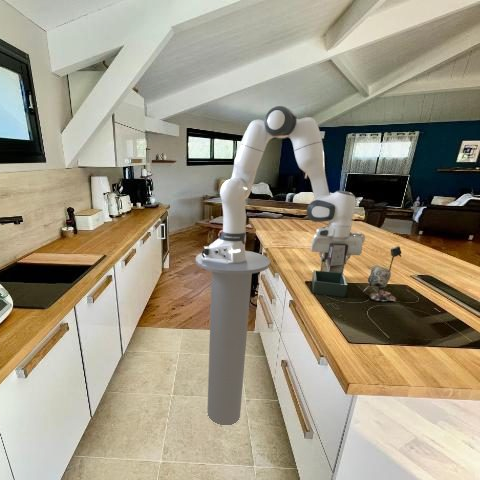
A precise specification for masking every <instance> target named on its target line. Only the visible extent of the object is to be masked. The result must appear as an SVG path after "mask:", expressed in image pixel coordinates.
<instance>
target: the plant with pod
mask: <svg viewBox="0 0 480 480" xmlns="http://www.w3.org/2000/svg"><path fill="white" fill-rule="evenodd" d="M390 255H391V261H390V264H389V268H387V267H382V266H379V265H375V266H373V267H372V268H371V271H370V274H369V276H368V278H367V282H368V283H369V284H368V285H367V286H366V287H365V289H363V291H362V292H363V293H364V292H367V290H368V289H369V288H370V287H371V286H374V287H377V288H378V292H375V293H374V292H373V293H369V298H370V299H371V300H373V301H378V302H387V301H393V302H397V297H395V296H394V295H392V294H391V292H388V291H387V290H386V289H387V286H388V283H389V281H390V278H391V276H392V275H391V274H392V272H391V269H392V264H393V262H394V259H395V258H396V257H398V256H399V257H400V258H402V250H401V247H400V246H399V245H397V246H395V247H392V248H390ZM383 289H384V291H383Z"/></svg>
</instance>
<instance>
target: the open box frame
mask: <svg viewBox="0 0 480 480" xmlns="http://www.w3.org/2000/svg"><path fill="white" fill-rule="evenodd" d="M311 285H312V294H314V295H315V294H316V295H323V296H332V297H341V298H345V297H346V293H347V289H348V283H347V280H346V277H345V275H344V272H343V273H337V272H327V271H320V270H317V269H316V270H315V269H313V272H312V279H311Z"/></svg>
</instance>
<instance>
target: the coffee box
mask: <svg viewBox="0 0 480 480" xmlns="http://www.w3.org/2000/svg"><path fill="white" fill-rule="evenodd" d="M348 246H349V245H347V244H334V243H330V246H329V252H328V253H324V252H323V255H322V257H323V258H325V260H324V262H321V265H320V270H319V271H327V272H337V273H343V274H344V269H345V265H346V264H345V260H346V257H347V256H346V255H347V250H348Z"/></svg>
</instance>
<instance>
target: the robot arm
mask: <svg viewBox="0 0 480 480" xmlns="http://www.w3.org/2000/svg"><path fill="white" fill-rule="evenodd" d="M288 138H289V139H290V141H291V144H292V147H293V152H294V157H295V161H296V163H297V166H298V168H299V169H300V170H301V171H302V172H304V173H305V175H307V177H308V178H309V180H310V185H311V190H312V193H313V200H312V201H311V202H309V204H308V205H307V207H306V216H307V218H308V219H309V220H310V221H312V222H314V223H323V222H328V225H325V226H322V227H317V228H316V230H315V234H314V235H313V236H312V239H311V243H310V248H309V249H310V251H311V252H313V253H318V255H319V257H320V260H319V261H320V263H322V262H324V260H325V258H323V252H324V253H328V252H329V246H330V243H334V244H347V245H349V246H348V250H347V255H346V260H345V265H347V262H348V260H349V259H351V257H352V256H360V255H361V254H362V253H363V244H364V243H365V240H366V235H365V234H363V233H362V232H354V231H353V232H352V231H351V230H352V225H353V223H352V222H353V221H352V220H353V217H354V216H355V215H354V214H355V212H356V211H355V210H356V200H357V199H356V196H355V194H353V193H352V192H349V191H345V190H336V191H335V192H334V193H330V190H329V189H330V188H329V185H328V179H327V176H326V170H325V169H326V168H325V152H324V144H323V138H322V135H321V131H320V128H319V125H318V123H317V121H316V119H315V118H313V117H309V116H307V117H302V118H297V115H296V114H295V113H294V111H292V110H291V109H290V108H288V107H286V106H283V105H276V106H274V107H272V108H270V109H269V111H268V112H267V113H266V114H265V117H264V120H262V119H253V120H252V121H251V122H250V123H249V124H248V126H247V128H246V130H245V132H244V134H243V136H242V138H241V141H240V144H239V146H238V149H237V152H236V155H235V158H234V161H233V169H232V174H231V178H230V179H227V180H226V181H225V182H224V183H223V184H222V185H221V187H220V190H219V197H220V199H221V207H222V229H220V230H219V232H218V235H217V236H218V238H217V239H215V240H214V241H212V242H211V243H210V244H209V245H208V246H207V245H206V246H205V245H204V246H203V250H202V251H201V253H202V259H203V260H206V261H212V262H218V263H224V264H233V263H241V262H244V261H246V260H247V259H246V254H245V251H246V243H247V242H246V241H247V232H246V229H247V227H246V225H247V213H246V212H247V211H246V200H247V199H248V198H249V196H251V195H250V194H251V191H252V189H253V186H254V182H255V179H256V175H257V171H258V169H259V166H260V163H261V161H262V158H263V155H264V153H265V151H266V148H267V146H268V143H269V142H270V140H284V139H288Z"/></svg>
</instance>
